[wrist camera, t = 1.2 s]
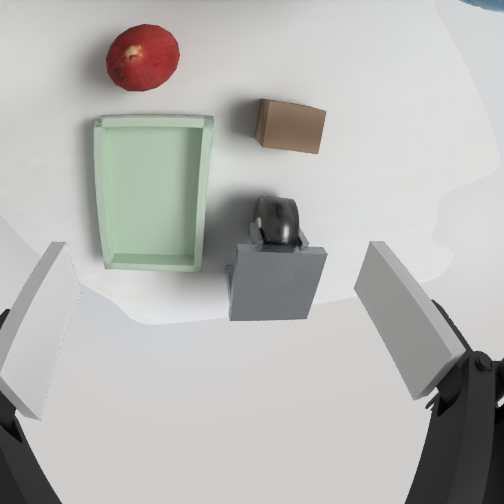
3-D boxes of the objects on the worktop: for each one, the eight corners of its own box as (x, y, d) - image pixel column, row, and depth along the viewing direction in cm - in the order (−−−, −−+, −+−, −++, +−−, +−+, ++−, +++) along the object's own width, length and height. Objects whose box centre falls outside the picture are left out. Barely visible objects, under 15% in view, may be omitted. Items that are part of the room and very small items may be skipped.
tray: (102, 115, 23) (93, 119, 21) (212, 116, 25) (213, 119, 23) (110, 255, 31) (104, 268, 29) (201, 259, 33) (201, 272, 31)
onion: (139, 102, 23) (116, 110, 17) (109, 57, 20) (76, 50, 14) (193, 67, 22) (190, 60, 16) (162, 21, 19) (147, -1, 13)
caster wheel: (233, 185, 29) (243, 218, 23) (308, 192, 31) (336, 224, 25) (223, 275, 35) (229, 320, 29) (288, 276, 37) (306, 318, 30)
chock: (260, 98, 25) (269, 101, 22) (310, 106, 26) (326, 111, 23) (254, 138, 27) (262, 147, 24) (303, 144, 28) (317, 154, 25)
